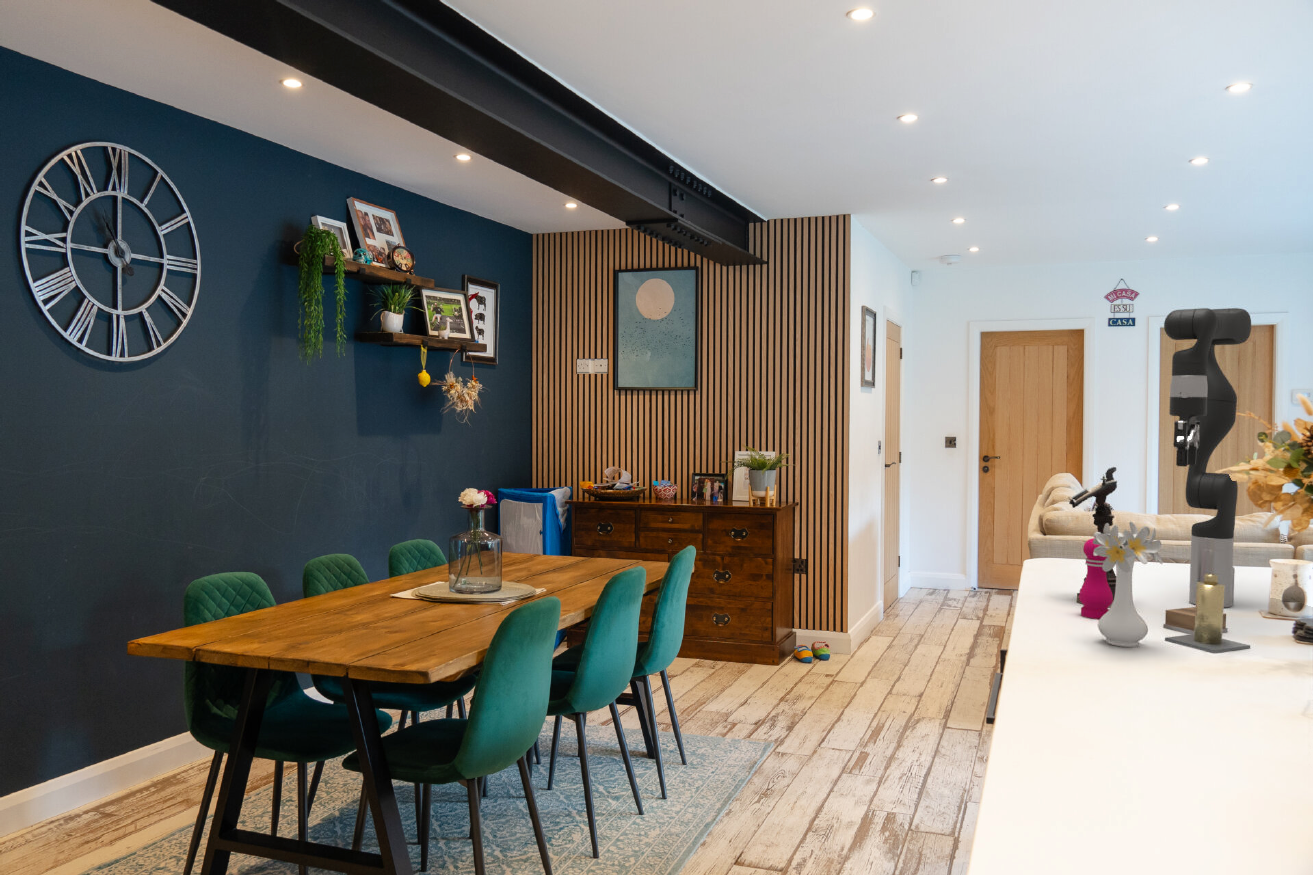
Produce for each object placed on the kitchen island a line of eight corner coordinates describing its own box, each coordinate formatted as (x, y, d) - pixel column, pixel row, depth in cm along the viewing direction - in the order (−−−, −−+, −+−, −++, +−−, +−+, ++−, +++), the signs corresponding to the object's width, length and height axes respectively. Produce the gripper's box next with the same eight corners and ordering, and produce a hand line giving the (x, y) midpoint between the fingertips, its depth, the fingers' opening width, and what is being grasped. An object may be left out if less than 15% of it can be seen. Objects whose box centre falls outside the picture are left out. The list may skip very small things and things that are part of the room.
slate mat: (1200, 635, 203) (1200, 633, 203) (1250, 648, 193) (1250, 645, 193) (1164, 640, 199) (1164, 637, 199) (1214, 653, 188) (1214, 650, 188)
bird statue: (1054, 604, 234) (1058, 464, 233) (1055, 595, 246) (1058, 462, 245) (1128, 610, 228) (1132, 467, 227) (1125, 601, 240) (1129, 464, 239)
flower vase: (1086, 650, 189) (1089, 526, 189) (1092, 631, 206) (1096, 517, 205) (1159, 659, 183) (1163, 531, 182) (1160, 639, 199) (1164, 522, 199)
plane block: (1193, 624, 215) (1194, 606, 214) (1227, 631, 207) (1228, 613, 207) (1163, 627, 211) (1163, 609, 210) (1196, 635, 203) (1197, 617, 203)
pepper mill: (1105, 613, 225) (1108, 530, 224) (1117, 620, 217) (1119, 534, 217) (1074, 612, 225) (1076, 529, 225) (1084, 619, 218) (1087, 533, 217)
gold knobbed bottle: (1204, 636, 199) (1207, 571, 198) (1227, 642, 194) (1230, 576, 194) (1188, 639, 197) (1191, 573, 196) (1211, 645, 192) (1214, 577, 192)
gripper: (1177, 396, 225) (1175, 463, 225) (1162, 395, 214) (1160, 466, 215) (1213, 396, 220) (1211, 465, 220) (1200, 395, 209) (1197, 467, 210)
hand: (1186, 465), depth 217 cm, fingers open, 8 cm apart
